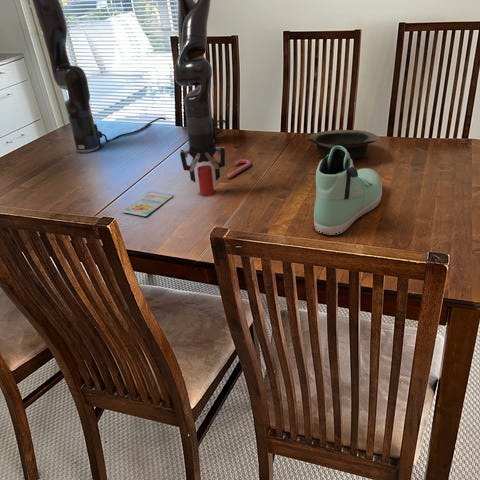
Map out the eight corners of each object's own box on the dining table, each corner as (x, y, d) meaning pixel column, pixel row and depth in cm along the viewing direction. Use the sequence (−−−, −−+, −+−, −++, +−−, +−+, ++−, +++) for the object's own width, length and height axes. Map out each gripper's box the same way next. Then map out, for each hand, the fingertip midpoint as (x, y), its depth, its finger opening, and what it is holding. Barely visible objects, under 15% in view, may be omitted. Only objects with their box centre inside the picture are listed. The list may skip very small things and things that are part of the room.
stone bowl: (336, 174, 158) (335, 147, 154) (295, 157, 179) (293, 133, 174) (394, 156, 167) (394, 130, 163) (348, 141, 187) (348, 118, 183)
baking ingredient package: (121, 211, 146) (150, 191, 157) (122, 212, 146) (150, 192, 158) (145, 215, 142) (173, 195, 154) (145, 216, 143) (173, 196, 154)
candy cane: (215, 176, 165) (215, 172, 164) (240, 161, 175) (240, 157, 174) (229, 180, 162) (229, 175, 161) (254, 164, 172) (254, 160, 171)
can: (205, 197, 152) (202, 171, 148) (197, 192, 155) (194, 167, 151) (216, 192, 154) (213, 167, 150) (209, 188, 157) (206, 164, 153)
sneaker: (389, 187, 148) (396, 123, 138) (356, 242, 123) (361, 168, 112) (346, 181, 154) (350, 119, 144) (306, 232, 129) (307, 161, 118)
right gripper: (175, 135, 140) (183, 187, 149) (224, 131, 141) (229, 182, 149) (176, 127, 147) (183, 177, 155) (222, 123, 147) (227, 173, 156)
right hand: (205, 180), depth 152 cm, fingers open, 6 cm apart
